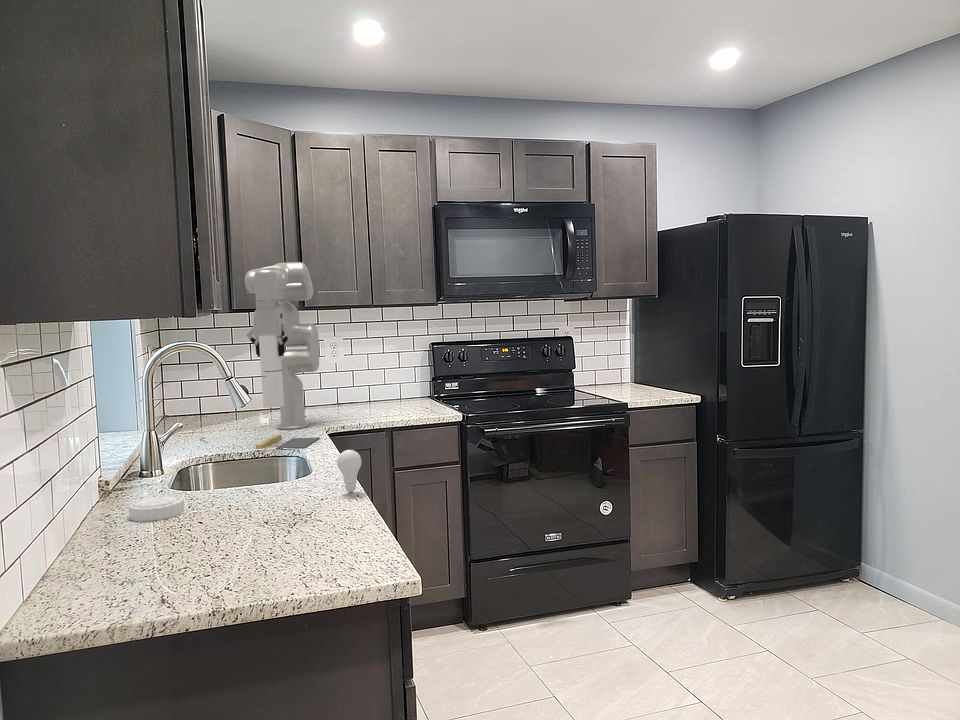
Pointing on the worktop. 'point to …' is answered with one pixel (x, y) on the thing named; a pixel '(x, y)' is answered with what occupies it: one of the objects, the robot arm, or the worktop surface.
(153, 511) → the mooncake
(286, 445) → the mat
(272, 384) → the grey tall block
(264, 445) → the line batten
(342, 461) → the lightbulb
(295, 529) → the worktop surface
